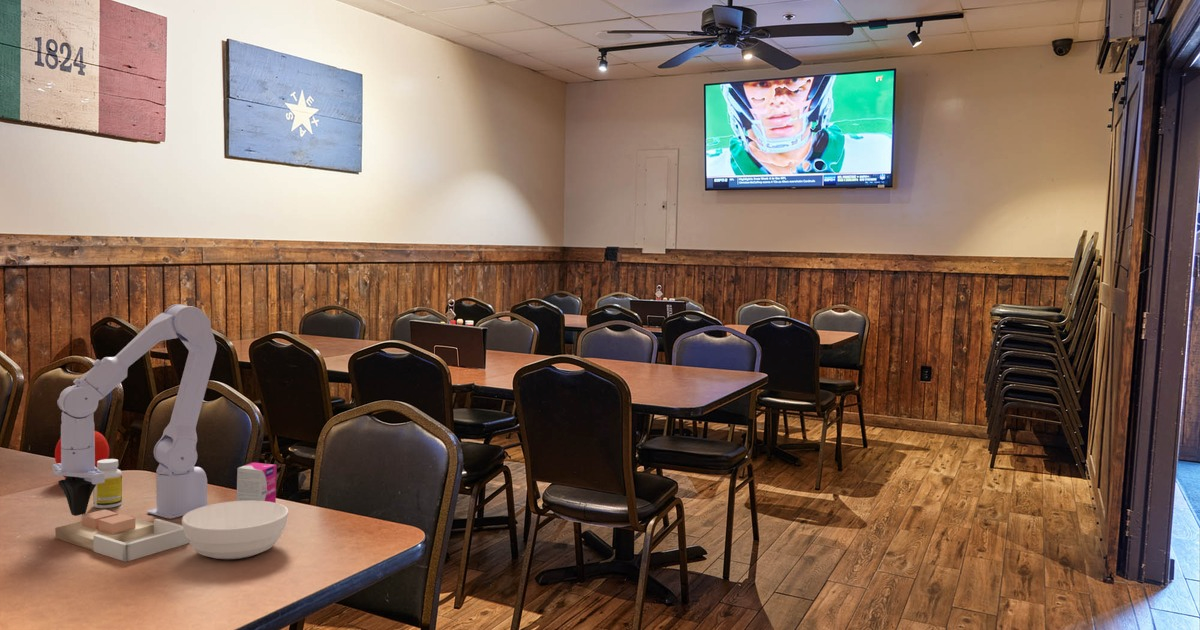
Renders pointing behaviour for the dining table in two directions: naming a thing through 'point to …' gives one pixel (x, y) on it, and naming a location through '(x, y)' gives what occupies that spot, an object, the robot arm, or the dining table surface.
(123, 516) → the tile
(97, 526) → the tile
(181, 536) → the tray
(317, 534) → the dining table surface
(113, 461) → the supplement bottle
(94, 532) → the plate
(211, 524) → the bowl
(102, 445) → the tomato
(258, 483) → the supplement box
